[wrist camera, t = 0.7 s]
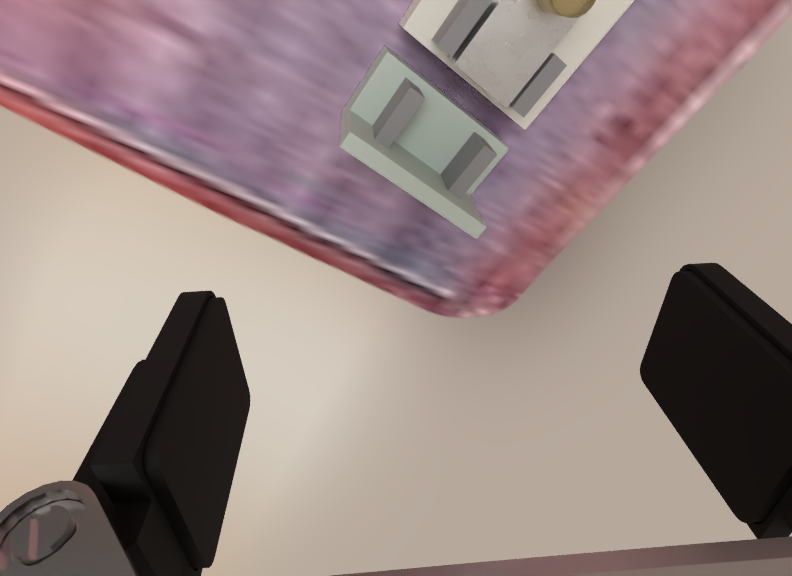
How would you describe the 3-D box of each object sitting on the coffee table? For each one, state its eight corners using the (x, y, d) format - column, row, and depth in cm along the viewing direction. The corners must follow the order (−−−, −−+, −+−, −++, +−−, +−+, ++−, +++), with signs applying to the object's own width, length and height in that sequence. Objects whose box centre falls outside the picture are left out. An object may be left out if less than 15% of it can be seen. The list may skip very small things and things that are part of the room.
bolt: (529, -60, 26) (569, -66, 21) (579, -8, 27) (625, -4, 23) (446, 57, 29) (465, 73, 24) (495, 98, 30) (522, 121, 25)
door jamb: (384, 45, 31) (394, 65, 24) (497, 136, 35) (533, 175, 28) (341, 111, 33) (339, 146, 26) (453, 190, 37) (476, 239, 30)
